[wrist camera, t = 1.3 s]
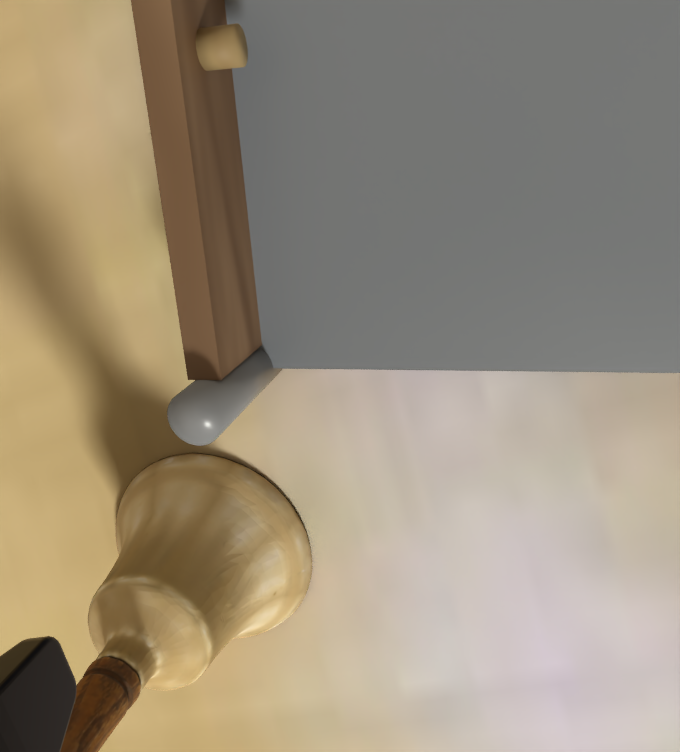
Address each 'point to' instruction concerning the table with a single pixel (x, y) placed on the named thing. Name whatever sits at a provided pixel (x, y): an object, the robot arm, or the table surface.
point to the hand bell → (186, 583)
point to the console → (455, 189)
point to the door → (201, 176)
